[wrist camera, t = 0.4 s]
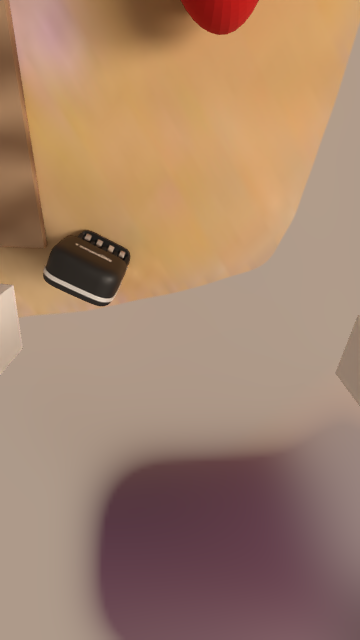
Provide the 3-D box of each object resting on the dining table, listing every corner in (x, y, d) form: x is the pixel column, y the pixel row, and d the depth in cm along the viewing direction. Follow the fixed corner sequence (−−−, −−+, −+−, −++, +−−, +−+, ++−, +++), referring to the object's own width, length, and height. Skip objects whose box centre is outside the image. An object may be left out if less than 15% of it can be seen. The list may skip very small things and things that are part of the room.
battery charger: (138, 247, 38) (123, 278, 28) (125, 274, 40) (107, 313, 29) (83, 219, 37) (46, 241, 26) (72, 248, 38) (33, 280, 28)
